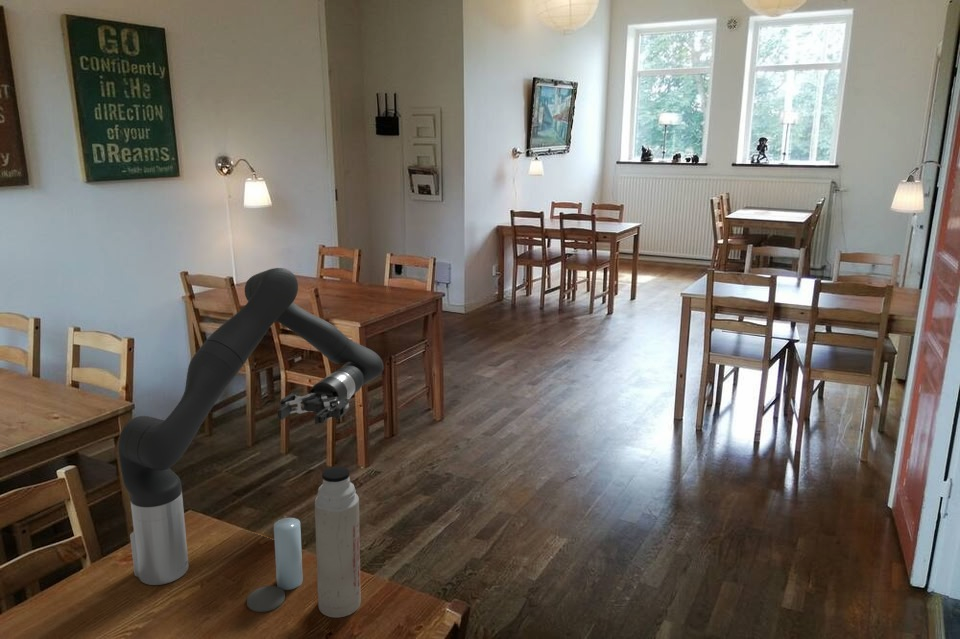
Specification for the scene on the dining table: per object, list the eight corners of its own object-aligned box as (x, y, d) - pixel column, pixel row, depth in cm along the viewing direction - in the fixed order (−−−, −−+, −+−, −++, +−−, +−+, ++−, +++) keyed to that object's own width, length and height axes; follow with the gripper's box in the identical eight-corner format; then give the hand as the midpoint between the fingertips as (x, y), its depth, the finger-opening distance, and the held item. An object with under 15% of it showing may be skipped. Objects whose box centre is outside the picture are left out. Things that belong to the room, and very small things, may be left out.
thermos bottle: (366, 594, 133) (364, 464, 126) (351, 620, 126) (348, 484, 119) (328, 587, 135) (324, 459, 128) (311, 614, 127) (306, 478, 120)
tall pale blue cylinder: (272, 587, 134) (268, 529, 131) (285, 572, 139) (282, 515, 136) (294, 591, 133) (292, 533, 130) (307, 576, 138) (304, 519, 135)
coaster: (239, 608, 128) (239, 605, 128) (259, 585, 135) (259, 583, 135) (272, 615, 127) (272, 612, 126) (291, 592, 133) (291, 589, 133)
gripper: (304, 372, 157) (266, 397, 142) (361, 379, 154) (328, 405, 139) (306, 403, 159) (268, 430, 144) (362, 410, 156) (329, 439, 141)
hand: (298, 418), depth 142 cm, fingers open, 8 cm apart
